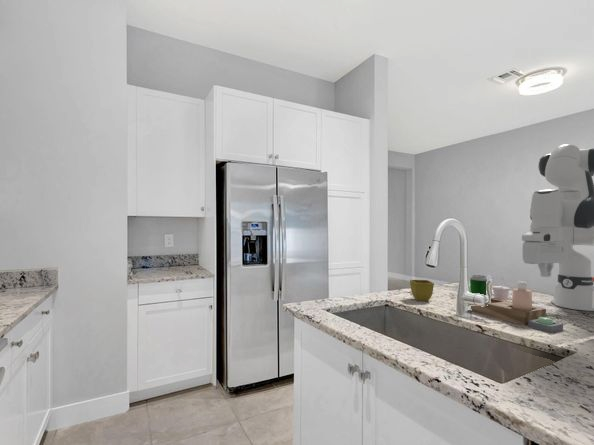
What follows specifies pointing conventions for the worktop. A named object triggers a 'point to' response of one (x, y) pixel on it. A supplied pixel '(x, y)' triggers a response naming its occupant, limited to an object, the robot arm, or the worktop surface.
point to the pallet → (509, 311)
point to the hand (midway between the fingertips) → (545, 276)
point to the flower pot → (421, 289)
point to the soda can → (478, 284)
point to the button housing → (546, 326)
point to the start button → (545, 320)
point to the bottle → (522, 297)
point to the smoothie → (501, 292)
